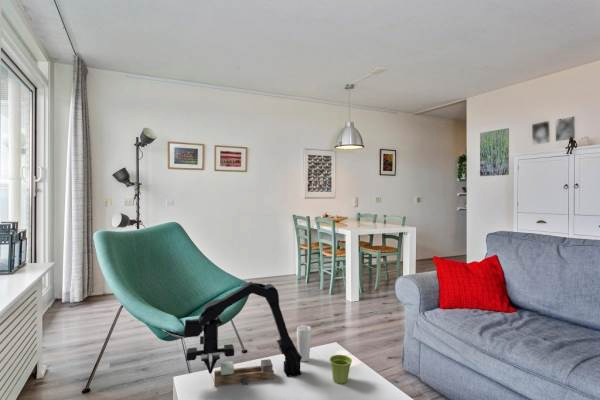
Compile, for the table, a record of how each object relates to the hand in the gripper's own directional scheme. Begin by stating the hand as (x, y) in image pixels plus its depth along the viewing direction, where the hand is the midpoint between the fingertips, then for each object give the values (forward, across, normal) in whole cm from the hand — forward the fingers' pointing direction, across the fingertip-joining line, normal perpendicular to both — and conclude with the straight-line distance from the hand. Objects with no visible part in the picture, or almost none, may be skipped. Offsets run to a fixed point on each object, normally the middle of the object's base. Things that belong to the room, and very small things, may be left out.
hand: (210, 373), depth 145 cm
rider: (+2, -7, 0) cm, 7 cm away
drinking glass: (+4, -43, -12) cm, 44 cm away
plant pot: (+5, -53, +10) cm, 54 cm away
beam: (+4, -14, 0) cm, 14 cm away
